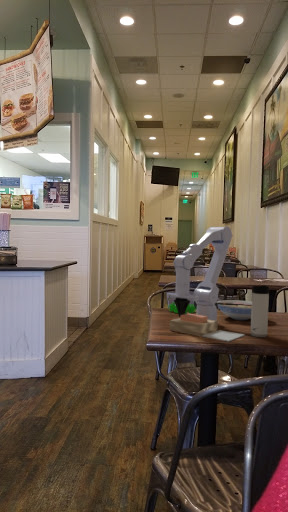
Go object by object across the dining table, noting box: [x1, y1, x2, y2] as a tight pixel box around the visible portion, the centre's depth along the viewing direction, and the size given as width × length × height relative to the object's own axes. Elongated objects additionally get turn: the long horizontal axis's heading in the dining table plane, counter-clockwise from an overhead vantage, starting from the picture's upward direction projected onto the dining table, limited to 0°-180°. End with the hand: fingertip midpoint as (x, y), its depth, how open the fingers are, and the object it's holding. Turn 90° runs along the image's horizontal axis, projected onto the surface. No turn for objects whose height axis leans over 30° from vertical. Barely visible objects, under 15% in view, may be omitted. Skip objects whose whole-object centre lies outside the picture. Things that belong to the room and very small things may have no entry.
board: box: [169, 317, 219, 337], centre depth 163 cm, size 14×14×4 cm
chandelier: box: [167, 302, 197, 314], centre depth 207 cm, size 15×15×7 cm
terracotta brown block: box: [180, 312, 208, 323], centre depth 162 cm, size 6×9×2 cm, turn 52°
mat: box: [201, 329, 246, 343], centre depth 154 cm, size 14×11×1 cm
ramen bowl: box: [215, 299, 271, 321], centre depth 192 cm, size 25×23×8 cm
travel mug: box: [250, 284, 270, 338], centre depth 157 cm, size 6×7×20 cm
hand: (181, 316), depth 166 cm, fingers closed
